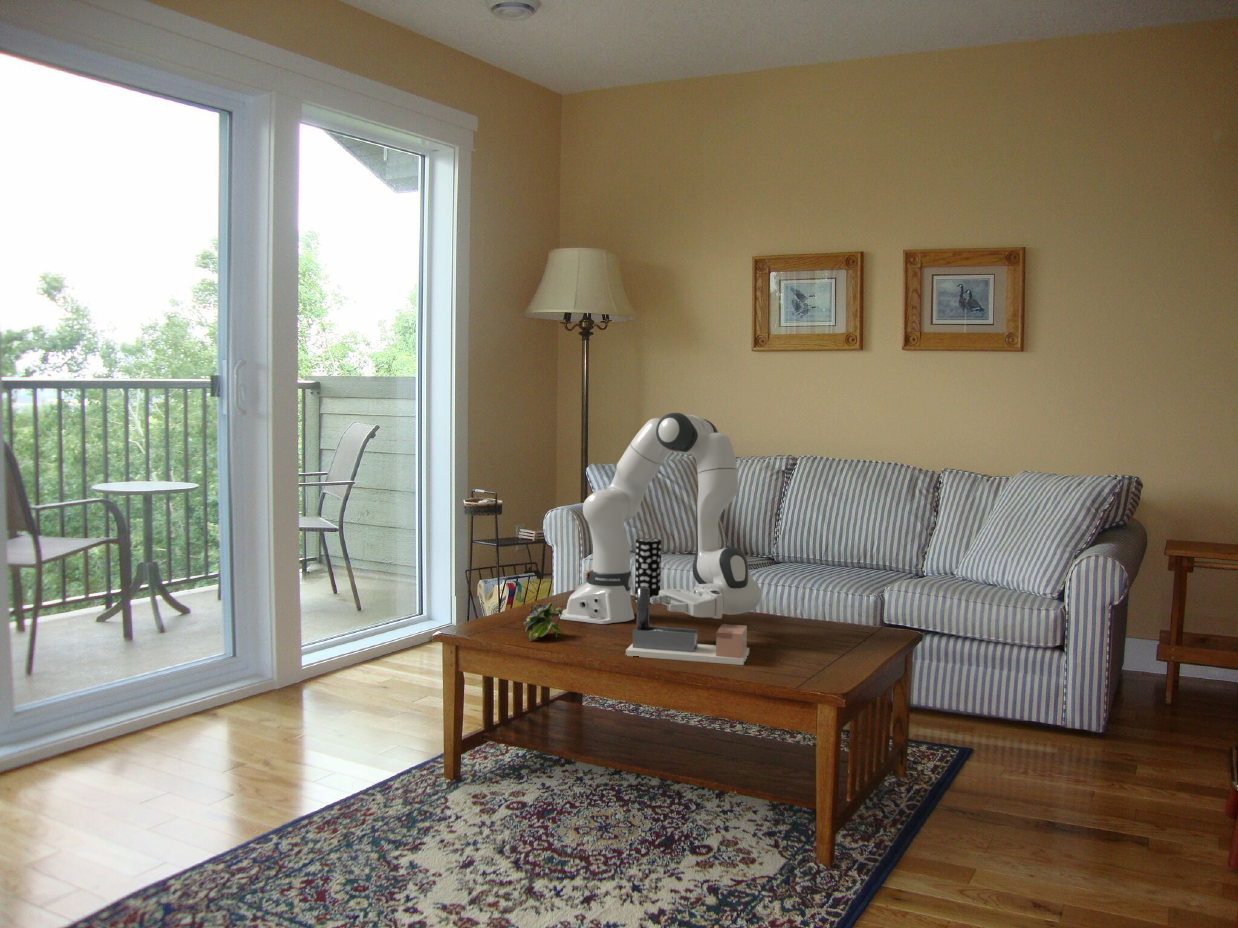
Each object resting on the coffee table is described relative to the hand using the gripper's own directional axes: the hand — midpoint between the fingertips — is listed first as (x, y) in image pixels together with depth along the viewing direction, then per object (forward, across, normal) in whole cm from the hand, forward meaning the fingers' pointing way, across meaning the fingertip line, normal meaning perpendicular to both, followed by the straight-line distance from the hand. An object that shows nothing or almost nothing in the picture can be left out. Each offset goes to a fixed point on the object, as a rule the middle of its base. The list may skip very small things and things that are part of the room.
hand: (659, 604), depth 264 cm
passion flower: (+22, -24, +12) cm, 35 cm away
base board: (-4, +8, +12) cm, 15 cm away
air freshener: (-10, -64, +12) cm, 66 cm away
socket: (-13, +15, +10) cm, 22 cm away
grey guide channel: (0, +4, +10) cm, 11 cm away
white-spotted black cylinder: (-26, -57, +12) cm, 64 cm away
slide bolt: (0, +4, +9) cm, 10 cm away
